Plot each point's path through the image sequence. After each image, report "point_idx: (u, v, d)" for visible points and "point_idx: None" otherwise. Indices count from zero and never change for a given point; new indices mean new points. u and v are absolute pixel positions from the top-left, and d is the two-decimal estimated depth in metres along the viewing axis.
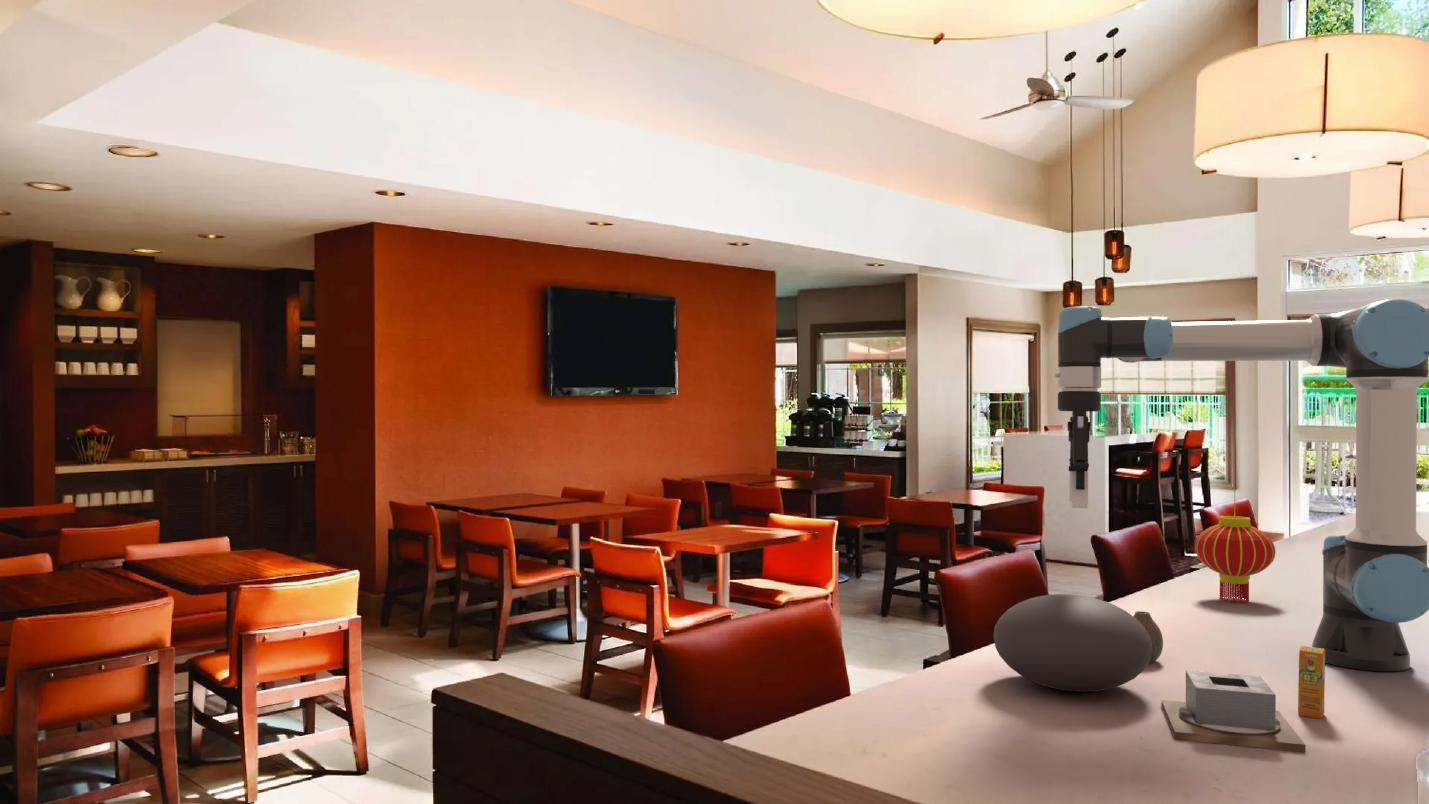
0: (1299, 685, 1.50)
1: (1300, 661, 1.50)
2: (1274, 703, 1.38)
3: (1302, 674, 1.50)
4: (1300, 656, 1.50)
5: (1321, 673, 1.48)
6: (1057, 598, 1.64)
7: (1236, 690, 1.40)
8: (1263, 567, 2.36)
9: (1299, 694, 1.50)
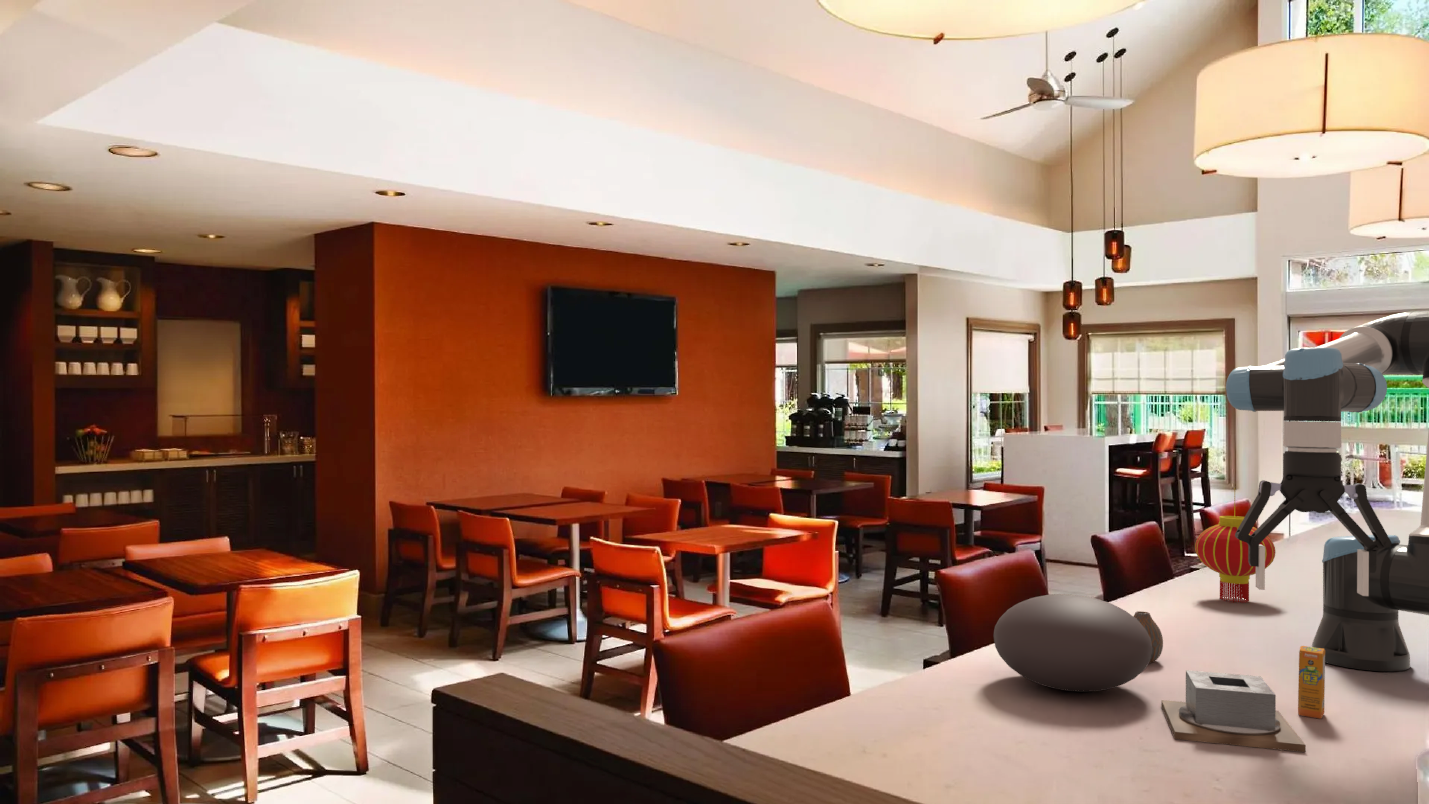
0: (1299, 685, 1.50)
1: (1300, 661, 1.50)
2: (1274, 703, 1.38)
3: (1302, 674, 1.50)
4: (1300, 656, 1.50)
5: (1321, 673, 1.48)
6: (1057, 598, 1.64)
7: (1236, 690, 1.40)
8: None
9: (1299, 694, 1.50)
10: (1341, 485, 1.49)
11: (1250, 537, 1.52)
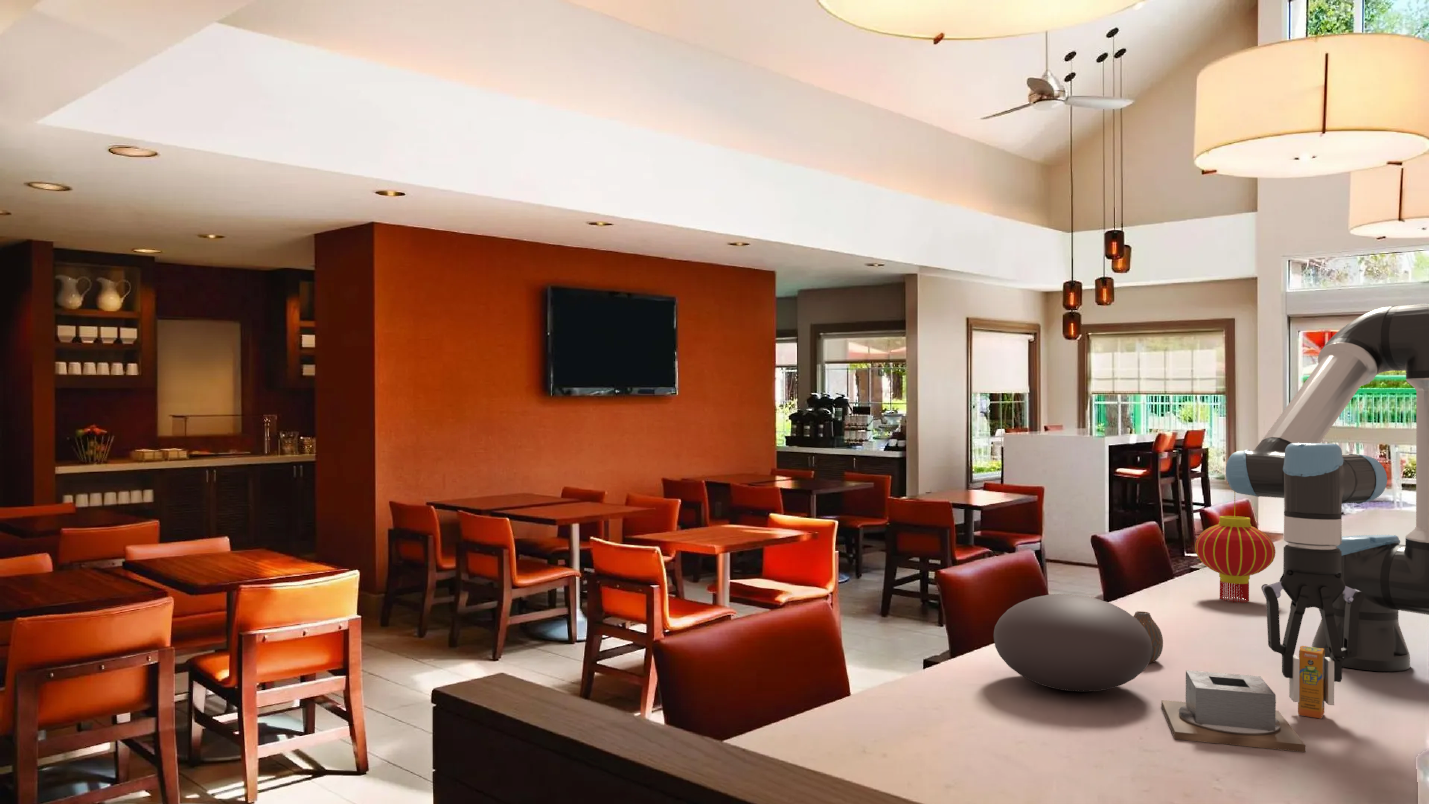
0: (1299, 685, 1.50)
1: (1300, 661, 1.50)
2: (1274, 703, 1.38)
3: (1302, 674, 1.50)
4: (1300, 656, 1.50)
5: (1321, 673, 1.48)
6: (1057, 598, 1.64)
7: (1236, 690, 1.40)
8: (1263, 567, 2.36)
9: (1299, 694, 1.50)
10: (1343, 584, 1.48)
11: (1282, 650, 1.51)
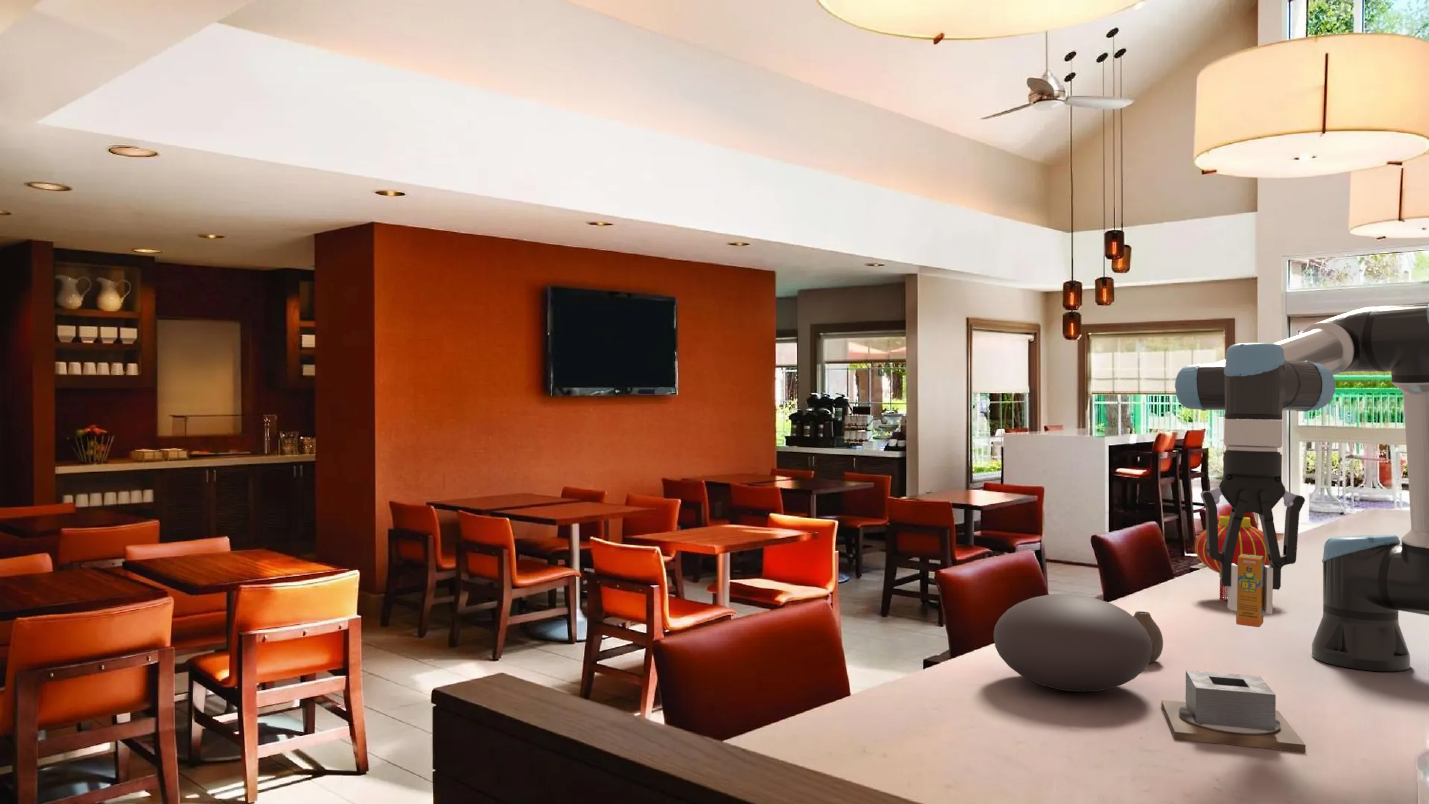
0: (1237, 593, 1.45)
1: (1238, 568, 1.45)
2: (1274, 703, 1.38)
3: (1241, 581, 1.45)
4: (1238, 563, 1.45)
5: (1259, 580, 1.43)
6: (1057, 598, 1.64)
7: (1236, 690, 1.40)
8: None
9: (1237, 602, 1.45)
10: (1283, 488, 1.44)
11: (1221, 558, 1.46)
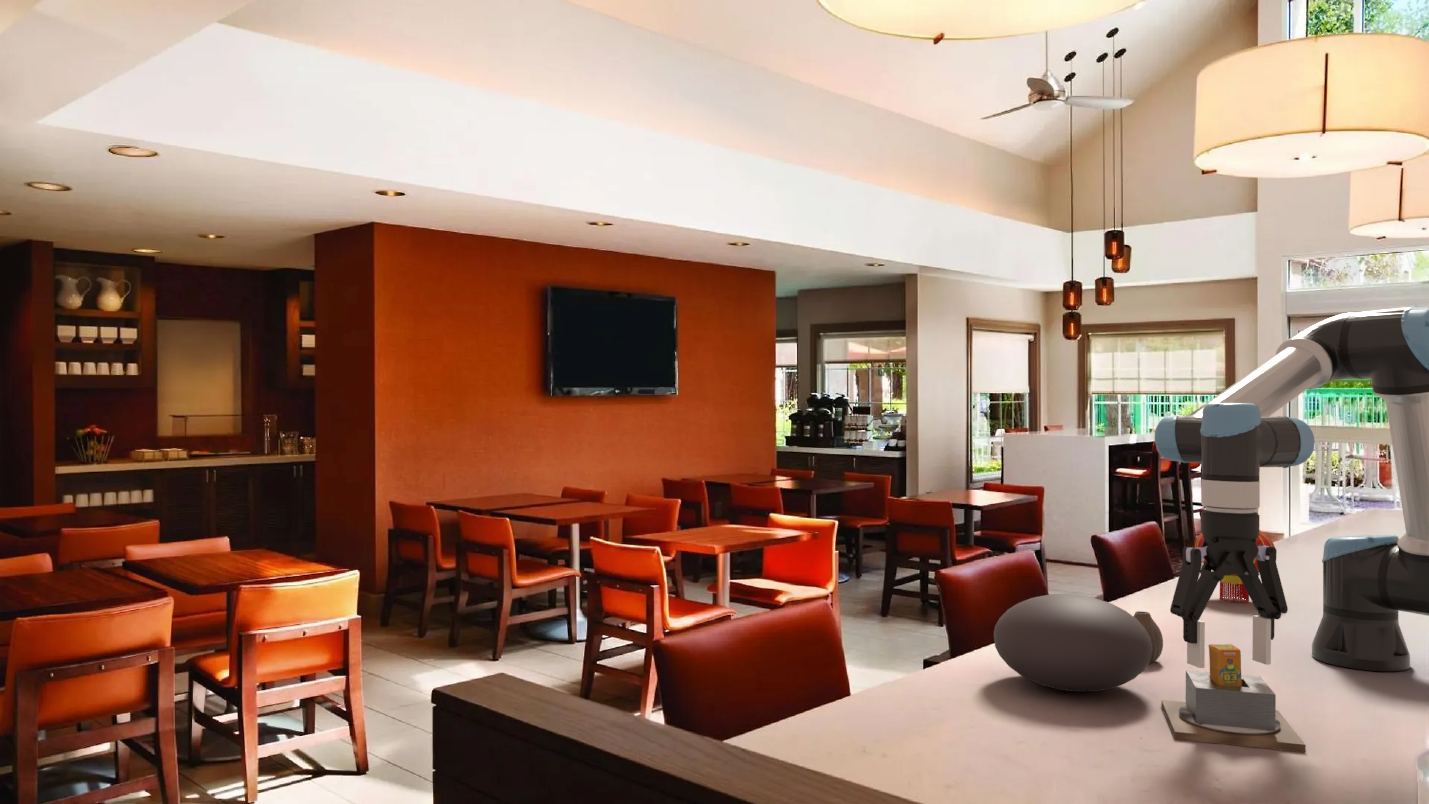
0: None
1: (1220, 661, 1.43)
2: (1274, 703, 1.38)
3: (1222, 674, 1.43)
4: (1219, 656, 1.43)
5: (1240, 670, 1.42)
6: (1057, 598, 1.64)
7: (1236, 690, 1.40)
8: None
9: None
10: (1257, 546, 1.44)
11: (1189, 613, 1.42)
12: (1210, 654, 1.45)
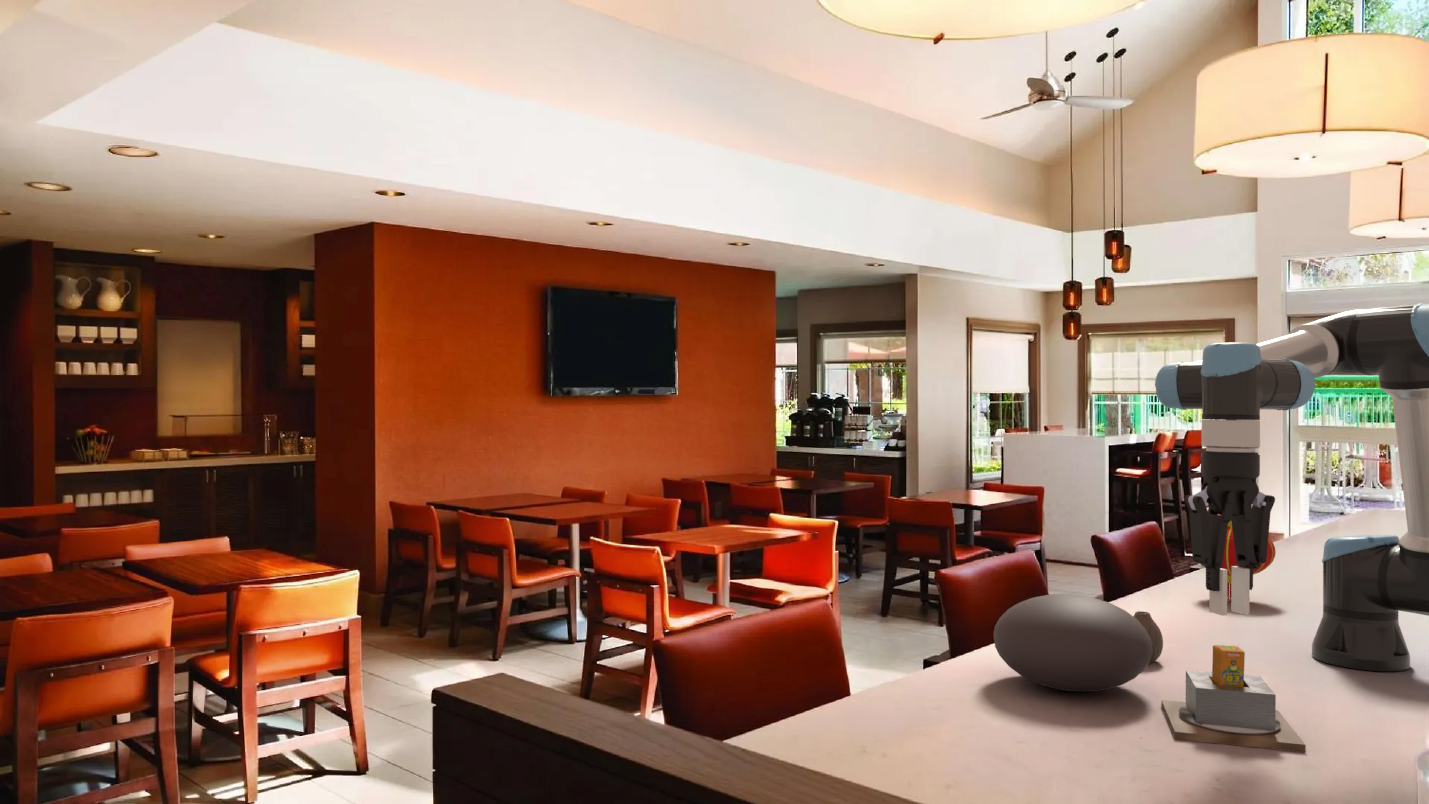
0: None
1: (1223, 662, 1.42)
2: (1274, 703, 1.38)
3: (1225, 675, 1.42)
4: (1223, 657, 1.42)
5: (1243, 672, 1.42)
6: (1057, 598, 1.64)
7: (1236, 690, 1.40)
8: (1263, 567, 2.36)
9: None
10: (1258, 488, 1.44)
11: (1211, 563, 1.43)
12: (1213, 654, 1.45)
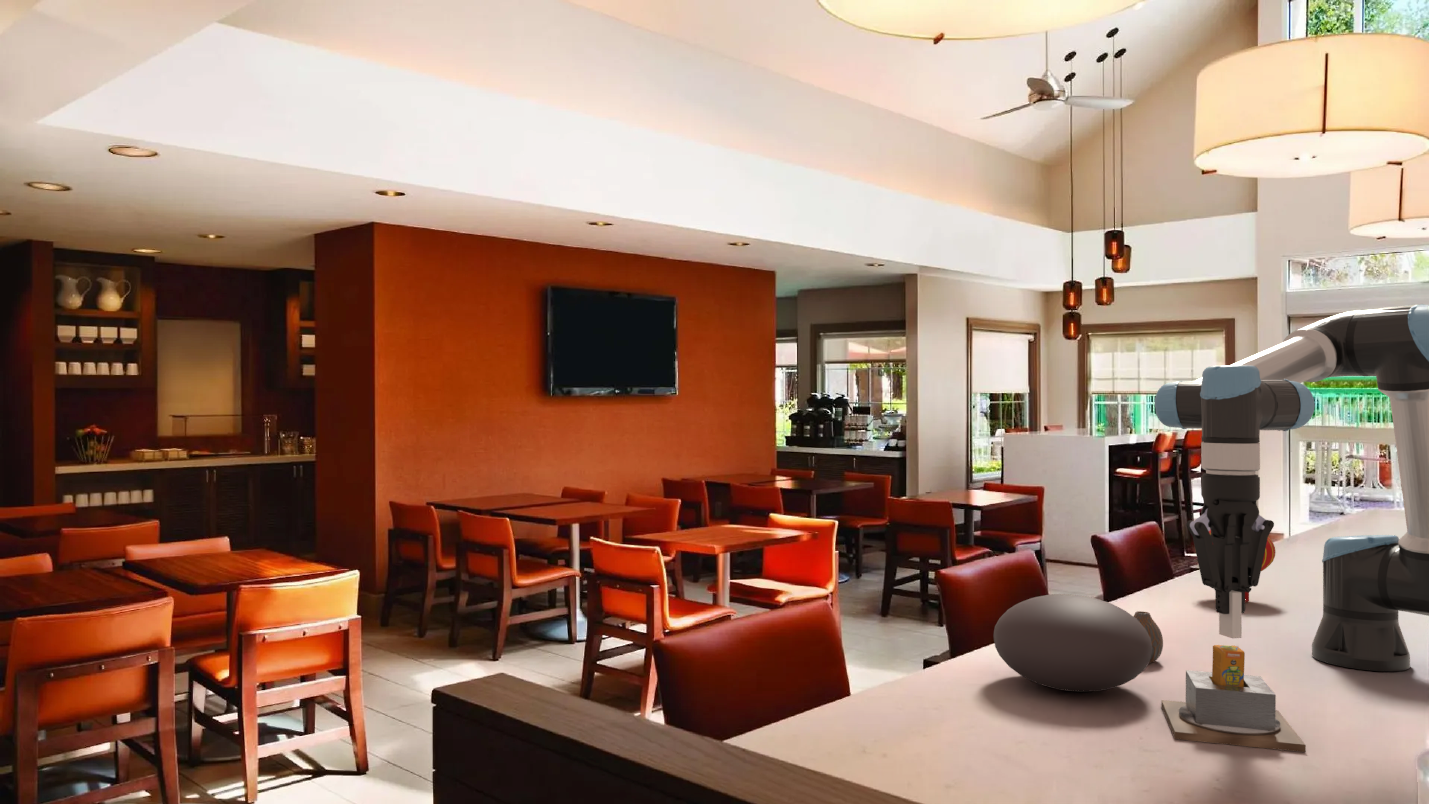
0: None
1: (1223, 662, 1.42)
2: (1274, 703, 1.38)
3: (1225, 675, 1.42)
4: (1223, 657, 1.42)
5: (1243, 672, 1.42)
6: (1057, 598, 1.64)
7: (1236, 690, 1.40)
8: (1263, 567, 2.36)
9: None
10: None
11: (1221, 587, 1.43)
12: (1214, 654, 1.45)
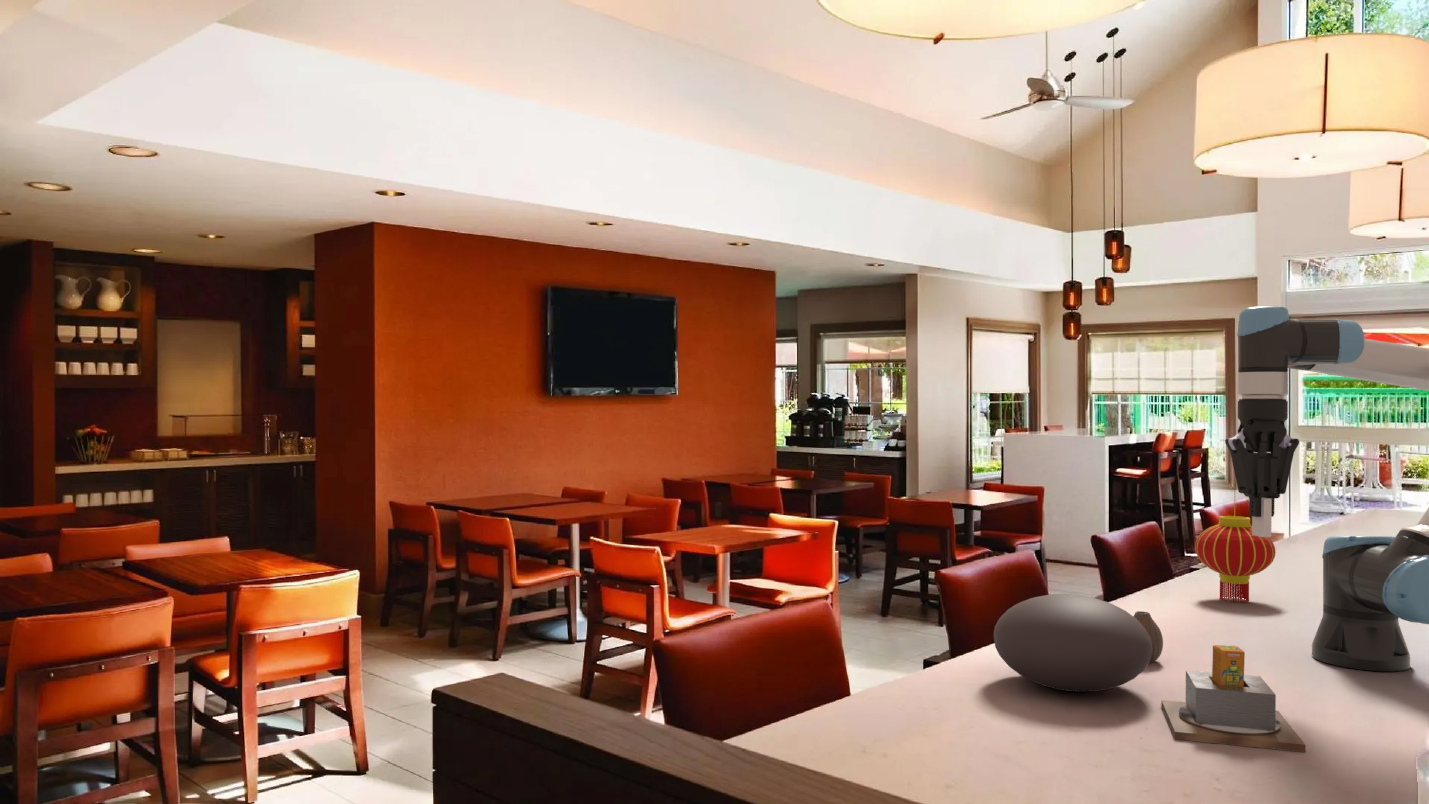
0: None
1: (1223, 662, 1.42)
2: (1274, 703, 1.38)
3: (1225, 675, 1.42)
4: (1223, 657, 1.42)
5: (1243, 672, 1.42)
6: (1057, 598, 1.64)
7: (1236, 690, 1.40)
8: (1263, 567, 2.36)
9: None
10: (1286, 431, 1.70)
11: (1254, 494, 1.69)
12: (1213, 654, 1.45)
